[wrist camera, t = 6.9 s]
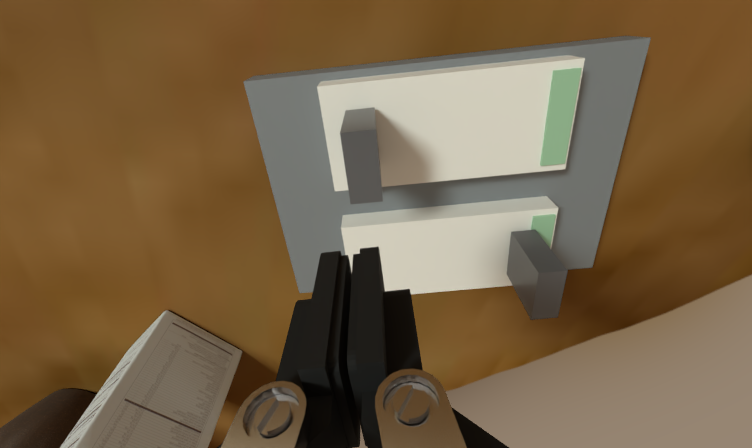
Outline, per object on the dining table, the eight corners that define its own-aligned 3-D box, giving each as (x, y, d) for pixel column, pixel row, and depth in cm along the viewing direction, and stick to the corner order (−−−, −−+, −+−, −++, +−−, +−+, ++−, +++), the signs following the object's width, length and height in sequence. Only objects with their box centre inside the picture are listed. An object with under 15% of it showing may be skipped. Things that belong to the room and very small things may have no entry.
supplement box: (124, 352, 39) (-20, 549, 25) (166, 306, 36) (29, 502, 22) (201, 390, 43) (115, 583, 28) (246, 351, 40) (174, 546, 25)
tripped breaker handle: (345, 110, 22) (339, 133, 18) (374, 107, 22) (376, 129, 18) (353, 170, 24) (350, 204, 20) (380, 168, 24) (383, 201, 20)
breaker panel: (254, 76, 26) (232, 87, 21) (626, 35, 25) (676, 39, 21) (303, 275, 34) (295, 310, 30) (577, 251, 34) (606, 283, 30)
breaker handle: (511, 231, 27) (538, 273, 22) (535, 229, 27) (567, 270, 22) (506, 274, 29) (531, 319, 24) (529, 272, 29) (557, 317, 24)
